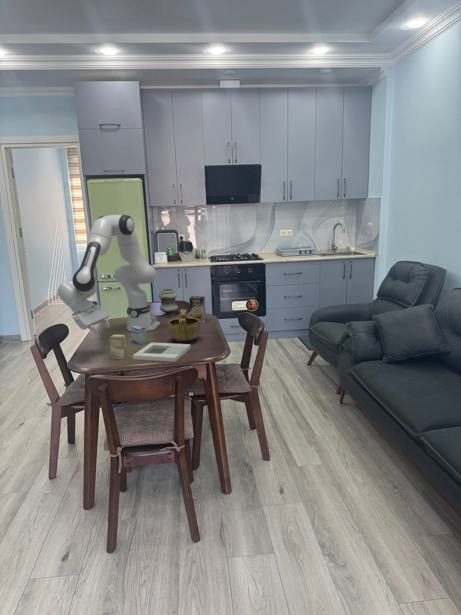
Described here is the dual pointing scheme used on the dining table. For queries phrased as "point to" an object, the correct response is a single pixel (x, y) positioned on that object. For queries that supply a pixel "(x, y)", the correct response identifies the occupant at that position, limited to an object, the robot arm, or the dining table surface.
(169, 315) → the apothecary jar
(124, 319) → the dining table surface
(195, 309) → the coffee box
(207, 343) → the dining table surface
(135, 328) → the medicine box
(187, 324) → the ceramic bowl
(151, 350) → the hole board
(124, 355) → the birch block
